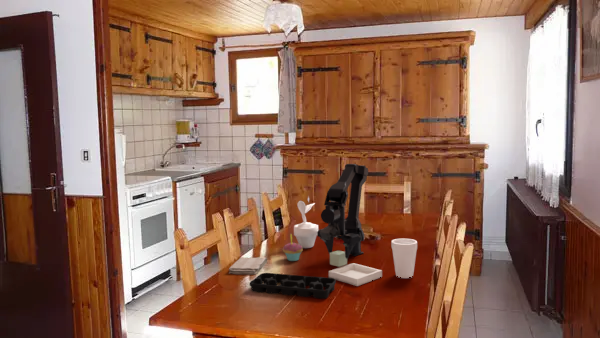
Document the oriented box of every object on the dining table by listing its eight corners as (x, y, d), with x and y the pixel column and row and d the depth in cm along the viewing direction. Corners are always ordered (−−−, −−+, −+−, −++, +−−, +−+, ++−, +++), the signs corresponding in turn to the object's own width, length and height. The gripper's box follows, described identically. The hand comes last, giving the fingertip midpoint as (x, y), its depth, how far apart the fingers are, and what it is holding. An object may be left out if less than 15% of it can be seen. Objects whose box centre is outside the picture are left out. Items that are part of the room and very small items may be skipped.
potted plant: (305, 251, 225) (304, 196, 222) (289, 246, 233) (287, 193, 231) (325, 246, 233) (324, 192, 230) (309, 241, 242) (307, 190, 239)
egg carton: (334, 300, 164) (334, 289, 164) (245, 299, 168) (244, 288, 168) (337, 283, 182) (336, 273, 181) (256, 281, 186) (255, 272, 185)
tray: (353, 269, 196) (353, 263, 196) (382, 276, 186) (382, 270, 186) (328, 277, 187) (328, 271, 187) (357, 286, 177) (357, 279, 176)
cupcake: (300, 262, 207) (299, 234, 206) (280, 262, 209) (279, 233, 208) (304, 256, 215) (303, 229, 214) (285, 256, 217) (284, 229, 216)
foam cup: (418, 272, 190) (418, 239, 189) (416, 280, 181) (415, 245, 180) (393, 270, 193) (393, 237, 192) (389, 278, 184) (389, 243, 183)
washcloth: (227, 275, 194) (227, 267, 194) (240, 262, 212) (239, 255, 212) (257, 276, 192) (257, 268, 192) (267, 262, 210) (267, 255, 210)
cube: (338, 262, 207) (338, 250, 207) (347, 264, 203) (347, 252, 203) (329, 264, 204) (329, 252, 203) (338, 267, 200) (338, 254, 200)
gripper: (307, 218, 203) (308, 256, 205) (341, 225, 189) (342, 265, 191) (326, 214, 211) (327, 250, 212) (360, 220, 197) (361, 259, 199)
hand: (338, 256), depth 203 cm, fingers open, 9 cm apart
